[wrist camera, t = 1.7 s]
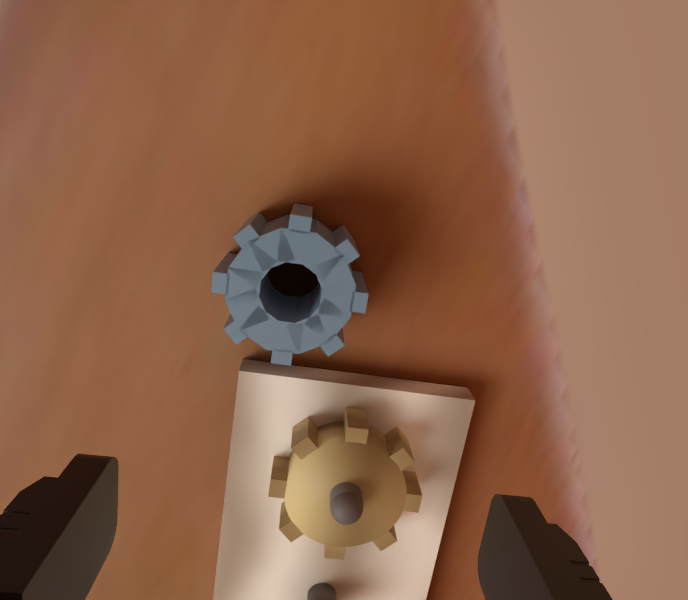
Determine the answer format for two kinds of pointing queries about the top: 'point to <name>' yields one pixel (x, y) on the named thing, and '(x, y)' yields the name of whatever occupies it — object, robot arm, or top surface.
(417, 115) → the top surface
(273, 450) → the gear board
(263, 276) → the loose gear
